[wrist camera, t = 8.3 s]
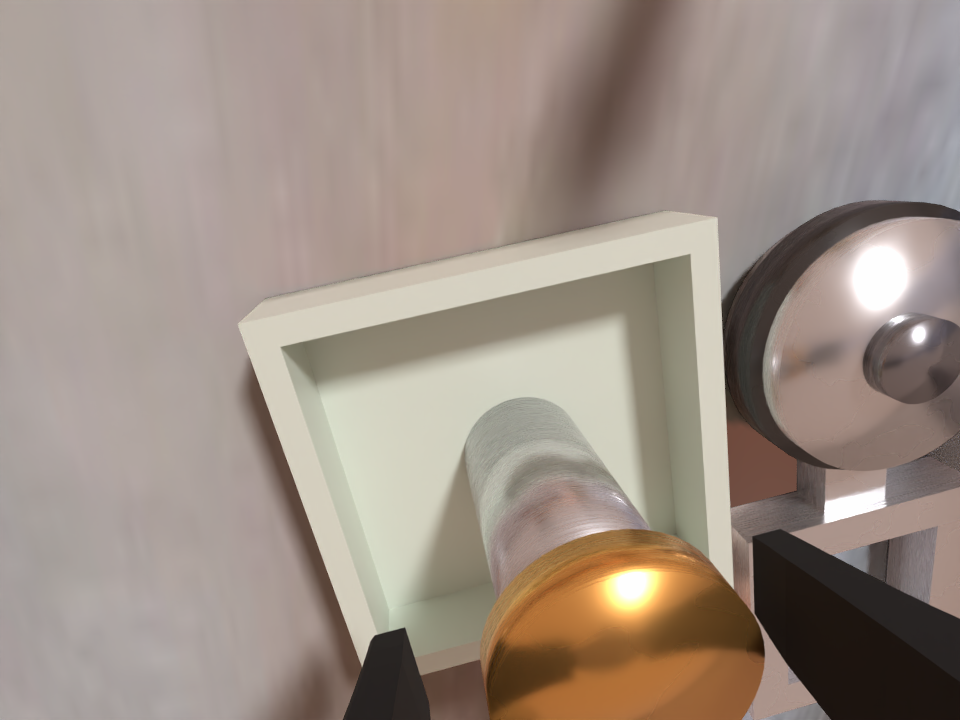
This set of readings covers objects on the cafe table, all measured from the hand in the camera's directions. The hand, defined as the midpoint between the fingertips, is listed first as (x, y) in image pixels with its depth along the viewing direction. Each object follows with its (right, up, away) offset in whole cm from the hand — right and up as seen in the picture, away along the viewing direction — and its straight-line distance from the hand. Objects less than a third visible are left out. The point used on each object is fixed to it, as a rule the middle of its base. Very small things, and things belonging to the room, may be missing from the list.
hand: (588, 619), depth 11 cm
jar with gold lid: (-1, +2, +8) cm, 8 cm away
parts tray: (-1, +3, +8) cm, 9 cm away
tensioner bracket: (+11, +1, +10) cm, 15 cm away
